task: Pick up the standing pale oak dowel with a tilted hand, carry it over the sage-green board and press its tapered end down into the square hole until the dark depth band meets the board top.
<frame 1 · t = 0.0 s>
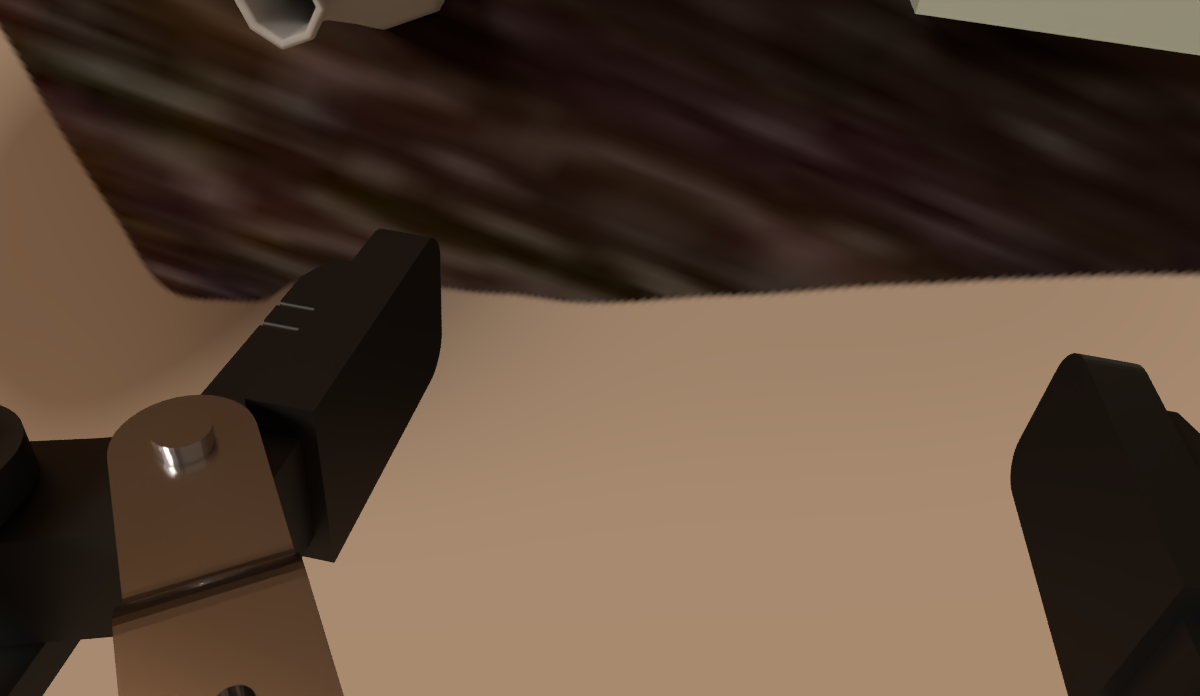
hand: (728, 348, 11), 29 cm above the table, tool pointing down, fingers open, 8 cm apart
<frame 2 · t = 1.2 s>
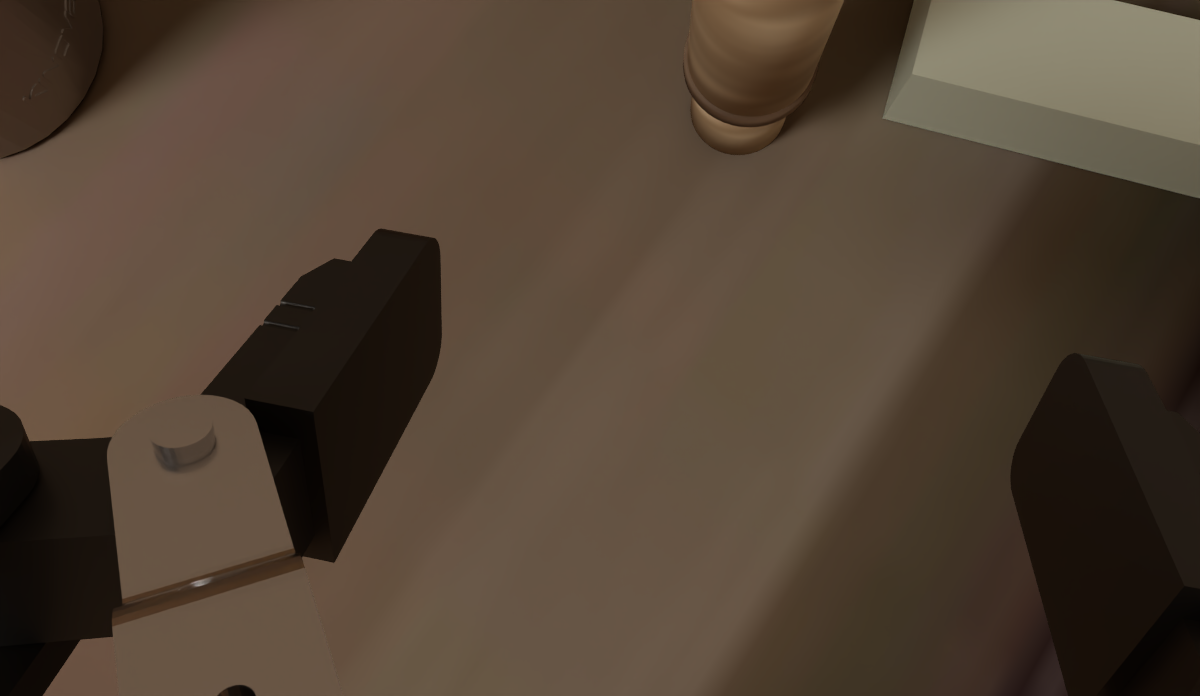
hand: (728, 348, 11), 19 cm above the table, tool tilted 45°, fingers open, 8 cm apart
peg: (738, 109, 31), on the table
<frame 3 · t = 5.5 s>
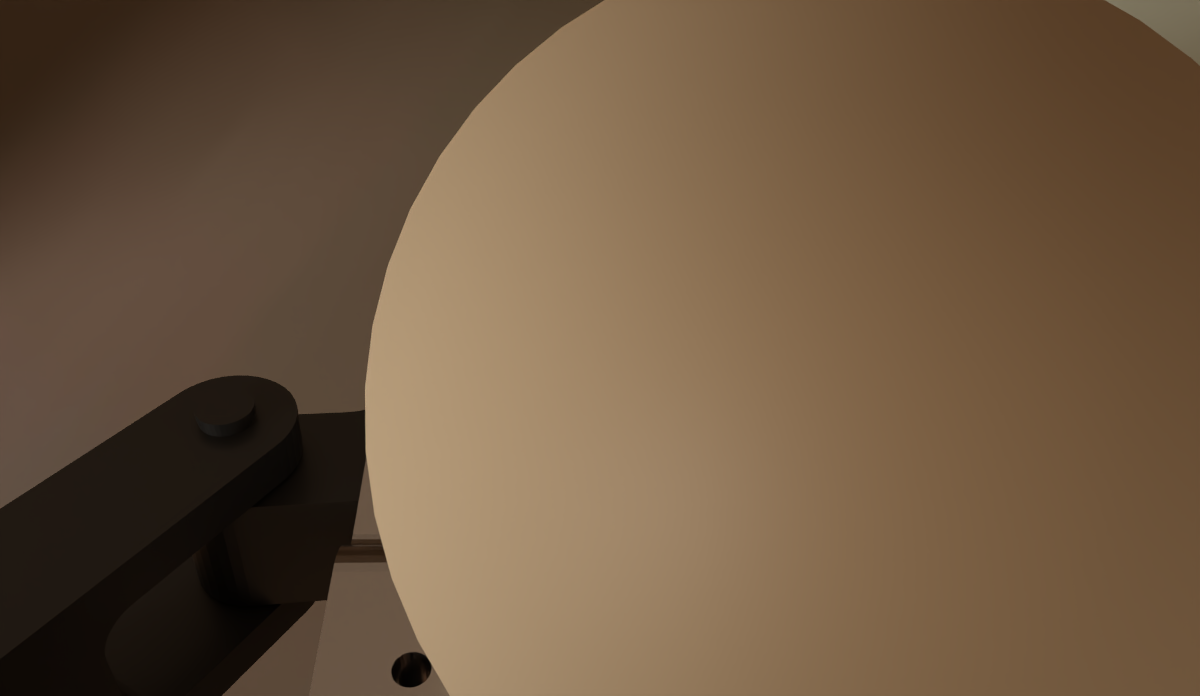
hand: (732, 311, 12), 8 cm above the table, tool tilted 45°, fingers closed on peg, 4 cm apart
peg: (686, 460, 19), on the table, touching gripper
when the fingers open (8 cm above the table, at t = 10.8 s): peg stays where it is, resting in board.
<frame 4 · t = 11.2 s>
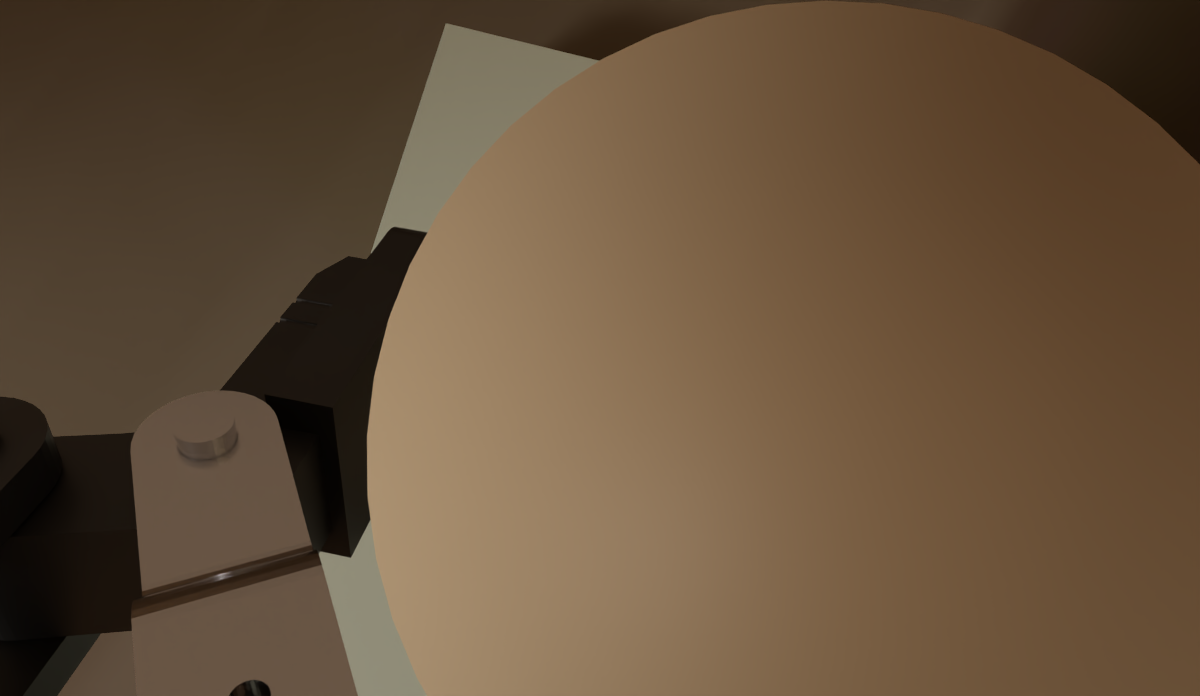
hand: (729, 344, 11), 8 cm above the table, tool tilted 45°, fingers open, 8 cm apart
peg: (684, 466, 20), resting in board
board: (684, 460, 20), on the table
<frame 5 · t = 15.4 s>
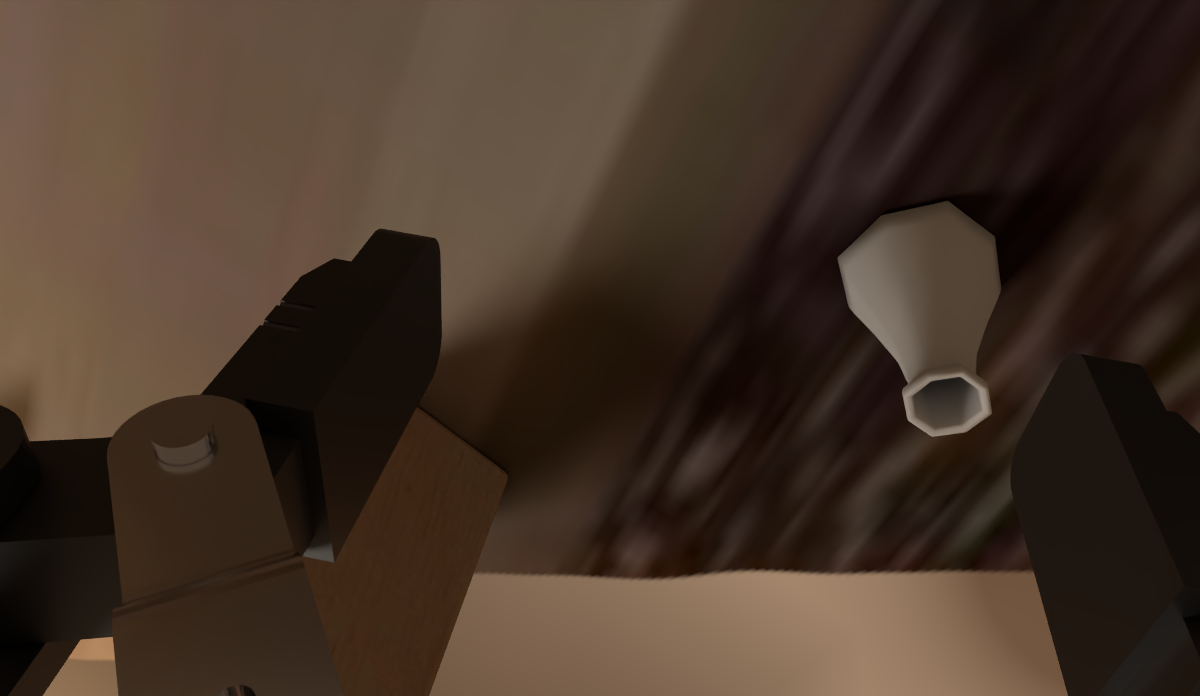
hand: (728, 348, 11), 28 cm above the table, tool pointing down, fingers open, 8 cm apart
wooden block: (407, 462, 56), on the table
flask: (917, 268, 42), on the table
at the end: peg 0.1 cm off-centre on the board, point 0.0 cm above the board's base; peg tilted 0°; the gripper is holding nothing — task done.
